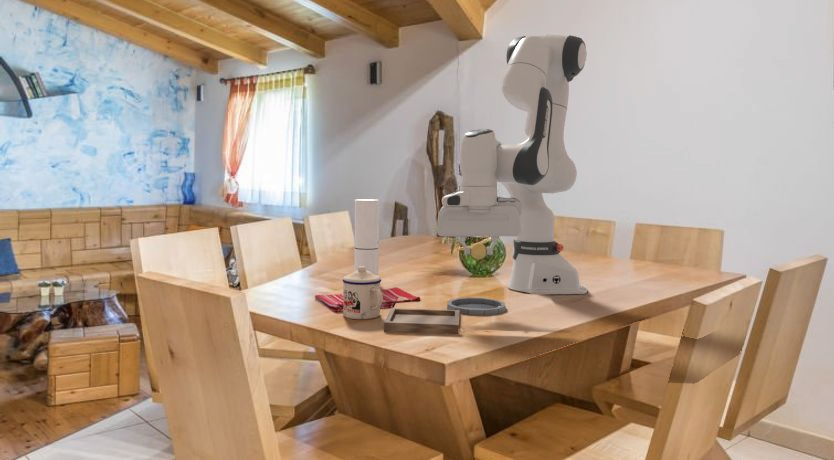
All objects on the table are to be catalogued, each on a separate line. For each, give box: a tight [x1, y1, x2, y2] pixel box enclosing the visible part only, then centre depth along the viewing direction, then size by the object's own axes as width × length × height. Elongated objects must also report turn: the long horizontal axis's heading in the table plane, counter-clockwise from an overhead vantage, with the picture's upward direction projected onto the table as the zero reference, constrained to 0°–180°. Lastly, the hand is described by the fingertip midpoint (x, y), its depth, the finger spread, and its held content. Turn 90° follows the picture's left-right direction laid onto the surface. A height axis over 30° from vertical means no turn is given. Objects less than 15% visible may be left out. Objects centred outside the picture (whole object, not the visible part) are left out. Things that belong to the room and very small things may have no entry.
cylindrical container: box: [353, 198, 380, 276], centre depth 193 cm, size 7×7×25 cm
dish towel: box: [314, 286, 421, 313], centre depth 170 cm, size 17×24×3 cm
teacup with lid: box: [342, 266, 383, 320], centre depth 153 cm, size 12×9×12 cm
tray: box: [383, 307, 460, 335], centre depth 147 cm, size 16×14×2 cm
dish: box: [446, 296, 507, 316], centre depth 160 cm, size 14×14×2 cm
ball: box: [470, 242, 487, 260], centre depth 159 cm, size 4×4×4 cm
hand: (478, 254), depth 159 cm, fingers closed on ball, 4 cm apart
